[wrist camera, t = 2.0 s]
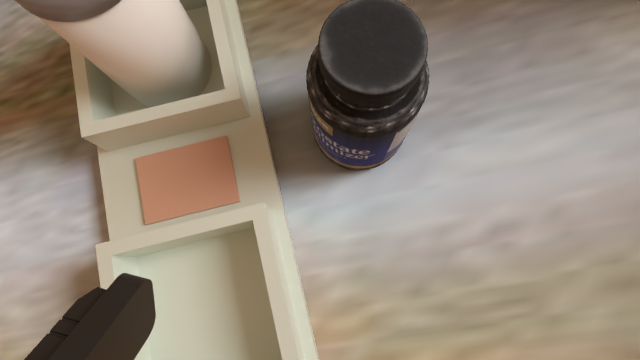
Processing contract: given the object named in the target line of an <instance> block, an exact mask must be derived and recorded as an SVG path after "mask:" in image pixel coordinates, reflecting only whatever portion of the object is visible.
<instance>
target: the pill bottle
mask: <svg viewBox="0 0 640 360" xmlns="http://www.w3.org/2000/svg"><path fill="white" fill-rule="evenodd" d="M427 51H428V40H427V35H426V31H425V29H424V26H423V25H422V22H421V21H420V19H419V18H418V17H417V15H416V14H415V13H414V12H413V11H412V10H411V9H410V8H408V7H407V6H406V5H404V4H403V3H401V2H399V1H397V0H349V1H347V2H345V3H344V4H342V5H340V6H339V7H338V8H336V9H335V10H334V11H333V12H332V13H331V14H330V15H329V17H328V18H327V19H326V21H325V22H324V24H323V26H322V29H321V31H320V36H319V42H318V45H317V47H316V48H315V50H314V51H313V54H312V55H311V58H310V61H309V64H308V68H307V76H306V77H307V80H306V82H307V90H308V96H309V103H310V110H311V117H312V124H313V130H314V137H315V141H316V143H317V145H318V146H319V148H320V149H321V151H322V152H323V154H325V155H326V156H327V157H328V158H329V159H330V160H331V161H332V162H334V163H336V164H337V165H339V166H342V167H345V168H347V169H353V170H358V169H363V168H374V167H377V166H380V165H381V164H383V163H385V162H386V161H388V160H389V159H390V158H391V157H392V156H393V155H394V154H395V153H396V152H397V150H398V149H399V147H400V146H401V144H402V142H403V140H404V138H405V136H406V134H407V133H408V131H409V129H410V127H411V125H412V123H413V121H414V119H415V117H416V116H417V114H418V112H419V110H420V108H421V106H422V104H423V103H424V100H425V98H426V94H427V91H428V84H429V69H428V65H427V61H426V57H427Z"/></svg>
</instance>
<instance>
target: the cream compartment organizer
mask: <svg viewBox="0 0 640 360" xmlns="http://www.w3.org/2000/svg"><path fill="white" fill-rule="evenodd" d="M15 1H16V2H18V3H19V4H20V5H21V6H22V7H24V8H25V9H26V10H28V11H29V12H30V13H32V14H34V15H36V16H38V17H39V18H40V19H41V20H42V21H44V22H45V23H46V24H47V25H48V26H50V27H51V28H52V29H53V30H54V31H55V32H57V33H58V34H59V35H60V36H61V37H62V38H64V39H65V40H66V41H67V42H68V43H69V45H70V53H71V61H72V69H73V77H74V84H75V92H76V100H77V108H78V116H79V123H80V131H81V138H83V139H85V140H87V141H89V142H91V143H93V144H95V145H97V152H98V159H99V166H100V174H101V181H102V188H103V196H104V203H105V210H106V218H107V225H108V232H109V240H110V241H108V242H104V243H100V244H96V245H95V248H96V256H97V263H98V271H99V279H100V287H101V288H103V289H106V290H107V289H108V288H109V286H110V285H111V284H112V283H113V282H114V280H115V279H116V278H117V277H118V276H119V275H120V274H122V273H128V274H132V275H135V276H139V277H143V278H146V279H150V280H151V281H152V284H153V292H154V302H155V311H156V318H155V323H154V326H153V329H152V331H151V334H150V335H149V337H148V339H147V340H146V342H145V344H144V345H143V347H142V348H141V350H140V351H139V353H138V354H137V356H136V357H135V359H134V360H319V355H318V351H317V347H316V342H315V338H314V334H313V329H312V325H311V321H310V316H309V312H308V308H307V303H306V299H305V295H304V290H303V286H302V282H301V277H300V273H299V268H298V264H297V260H296V255H295V251H294V247H293V242H292V238H291V234H290V229H289V225H288V221H287V216H286V212H285V208H284V203H283V199H282V194H281V190H280V186H279V181H278V177H277V173H276V168H275V164H274V160H273V155H272V151H271V147H270V142H269V138H268V134H267V129H266V125H265V121H264V116H263V112H262V107H261V103H260V99H259V94H258V90H257V86H256V81H255V77H254V73H253V68H252V64H251V60H250V55H249V51H248V47H247V42H246V38H245V34H244V29H243V25H242V20H241V16H240V12H239V7H238V3H237V0H15Z"/></svg>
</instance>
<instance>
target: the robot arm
mask: <svg viewBox="0 0 640 360" xmlns="http://www.w3.org/2000/svg"><path fill="white" fill-rule="evenodd" d="M155 318H156V311H155V302H154V292H153V284H152V281H151V280H150V279H146V278H143V277H139V276H135V275H132V274H128V273H122V274H120V275H119V276H118V277H117V278H116V279H115V280H114V282H113V283H112V284H111V285H110V286H109V288H108V289H107V290H106V289H103V288H99V287H97V288H95V289H94V290H92V291H91V292H89V293H88V294H86V295H84V296H83V297H81V298H80V299H78V300H77V301H76V302H75V303H74V304H73V305H72V307H71V308H70V309H69V310H68V311H67V312H66V313H65V314H64V316H63V318H62V320H59V321H58V322H57V323H56V325H55V326H54V327H53V328H52V329H51V330H50V333H49V334H47V335H46V336H45V337H44V338H43V339H42V340H41V341H40V343H39V344H38V345H37V346H36V347H35V348H34V349H33V350H32V352H31V353H30V354H29V355H28V356H27V357H26V358H25V359H24V360H134V359H135V357H136V356H137V354H138V353H139V351H140V350H141V348H142V347H143V345H144V344H145V342H146V340H147V339H148V337H149V335H150V334H151V331H152V329H153V326H154V323H155Z"/></svg>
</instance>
